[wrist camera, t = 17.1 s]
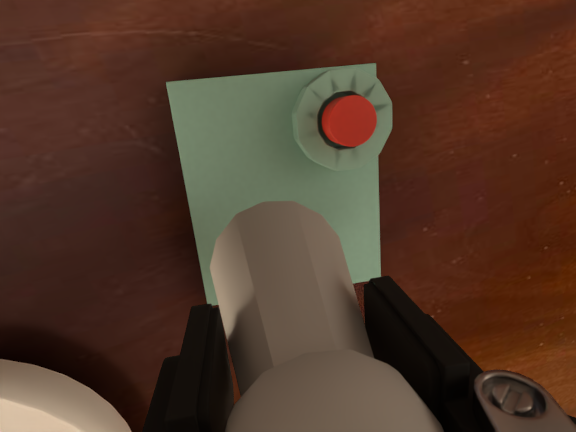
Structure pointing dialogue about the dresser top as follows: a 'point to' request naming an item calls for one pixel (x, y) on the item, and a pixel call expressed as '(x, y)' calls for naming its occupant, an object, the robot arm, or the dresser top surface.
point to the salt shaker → (302, 331)
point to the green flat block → (280, 155)
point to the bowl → (51, 402)
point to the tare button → (349, 120)
